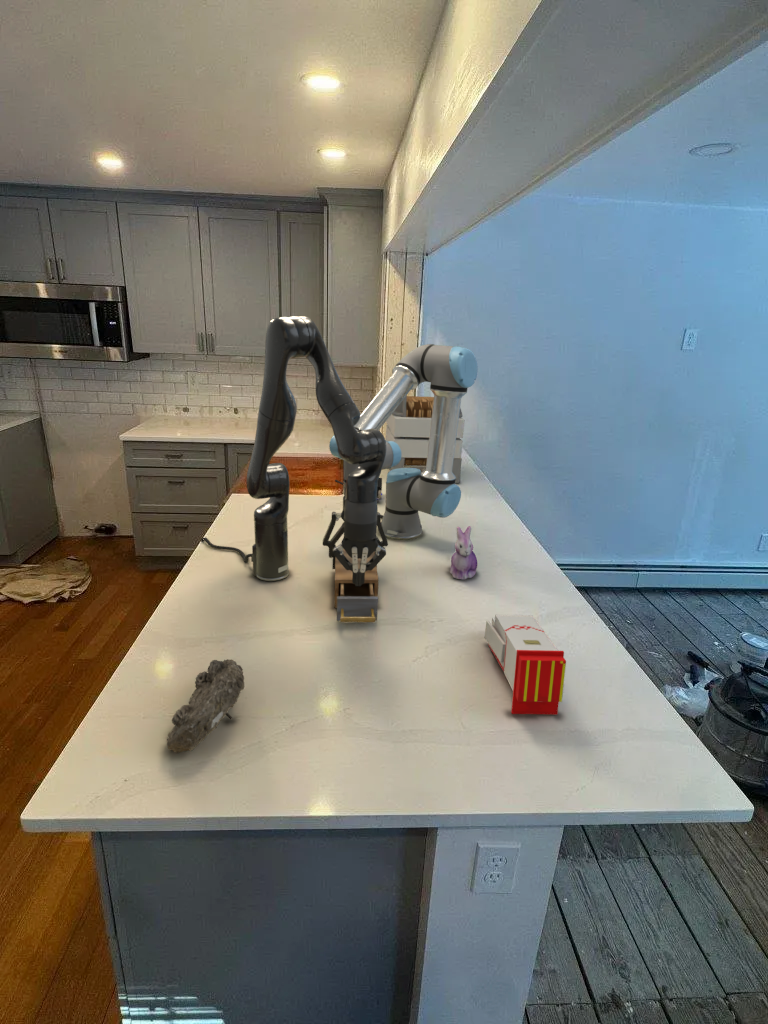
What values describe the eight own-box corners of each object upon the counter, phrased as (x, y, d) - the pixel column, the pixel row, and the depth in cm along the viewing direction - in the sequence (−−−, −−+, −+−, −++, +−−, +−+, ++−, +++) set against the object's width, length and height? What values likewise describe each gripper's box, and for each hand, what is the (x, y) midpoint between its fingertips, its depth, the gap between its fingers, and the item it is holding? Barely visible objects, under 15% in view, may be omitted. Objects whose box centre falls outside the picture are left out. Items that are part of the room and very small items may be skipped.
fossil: (192, 660, 117) (244, 628, 112) (224, 691, 120) (276, 661, 115) (142, 746, 98) (202, 712, 93) (182, 779, 101) (242, 748, 96)
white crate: (382, 463, 289) (386, 382, 275) (445, 464, 293) (451, 384, 279) (390, 482, 257) (394, 392, 243) (460, 483, 261) (468, 394, 247)
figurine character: (382, 507, 229) (381, 492, 243) (383, 490, 226) (382, 475, 239) (365, 506, 229) (366, 491, 242) (366, 489, 226) (366, 475, 239)
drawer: (378, 632, 137) (379, 609, 135) (336, 632, 136) (336, 609, 134) (372, 584, 160) (373, 564, 158) (337, 584, 159) (337, 564, 157)
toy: (530, 600, 137) (574, 657, 108) (525, 651, 140) (567, 720, 111) (480, 599, 137) (511, 656, 107) (477, 651, 139) (506, 719, 110)
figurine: (459, 583, 165) (464, 535, 160) (440, 569, 174) (444, 523, 169) (486, 577, 169) (491, 531, 164) (466, 564, 178) (470, 519, 173)
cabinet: (377, 608, 150) (378, 579, 147) (334, 607, 149) (334, 579, 146) (372, 573, 170) (373, 547, 167) (335, 572, 169) (335, 547, 166)
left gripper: (331, 522, 125) (330, 592, 131) (391, 523, 126) (387, 592, 132) (331, 510, 132) (330, 577, 138) (388, 511, 133) (384, 577, 139)
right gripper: (313, 499, 153) (313, 572, 160) (400, 501, 155) (396, 573, 162) (314, 491, 160) (314, 561, 167) (397, 492, 162) (394, 562, 169)
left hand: (358, 584), depth 135 cm, fingers closed
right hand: (354, 567), depth 165 cm, fingers closed on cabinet, 11 cm apart
